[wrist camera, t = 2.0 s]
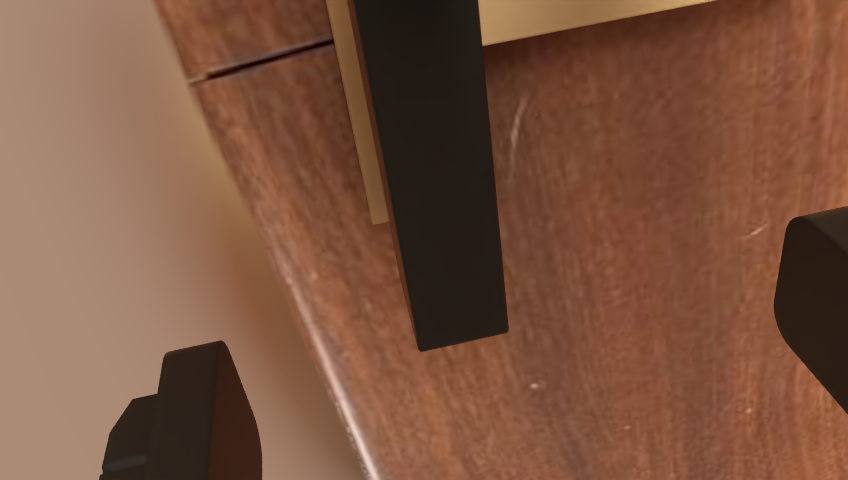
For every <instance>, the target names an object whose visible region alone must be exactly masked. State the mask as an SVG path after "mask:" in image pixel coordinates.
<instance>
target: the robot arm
mask: <svg viewBox="0 0 848 480" xmlns="http://www.w3.org/2000/svg"><path fill="white" fill-rule="evenodd" d="M774 313H775V318H776V322H777V325H778V328H779V330H780V333H781V335H782V337H783V338H784V340H785V341H786V343H787V344H788V345H789V347H790V348H791V349H792V350H793V351H794V352H795V354H796V355H797V356H798V357H799V358H800V359H801V361H802V362H803V363H804V364H805V365H806V366H807V368H808V369H809V370H810V371H811V372H812V373H813V375H814V376H815V377H816V378H817V379H818V380H819V381H820V383H821V384H822V385H823V386H824V387H825V388H826V390H827V391H828V392H829V393H830V394H831V395H832V397H833V398H834V399H835V400H836V401H837V402H838V404H839V405H840V406H841V407H842V408H843V409H844V411H845V412H846V413H847V414H848V207H841V208H836V209H832V210H827V211H823V212H818V213H813V214H809V215H804V216H800V217H796V218H793V219H792V220H791V221H790V222H789V224H788V226H787V228H786V232H785V238H784V244H783V250H782V256H781V262H780V268H779V274H778V280H777V286H776V292H775V298H774ZM102 470H103V474H102V475H100V478H99V480H262V452H261V443H260V437H259V432H258V428H257V424H256V420H255V417H254V415H253V412H252V409H251V407H250V404H249V401H248V399H247V396H246V393H245V391H244V388H243V386H242V383H241V380H240V378H239V375H238V373H237V370H236V367H235V365H234V362H233V360H232V357H231V355H230V352H229V350H228V347H227V346H226V344H225V343H224V342H223V341H216V342H212V343H207V344H203V345H198V346H193V347H189V348H184V349H179V350H175V351H170V352H168V353H166V354H165V356H164V358H163V363H162V369H161V375H160V381H159V387H158V393H157V394H154V395H149V396H145V397H140V398H136V399H133V400H132V401H131V402H130V404H129V405H128V407H127V408H126V410H125V411H124V413H123V414H122V415H121V417H120V419H119V420H118V421H117V423H116V425H115V426H114V427H113V429H112V431H111V432H110V434H109V438H108V443H107V447H106V452H105V456H104V460H103V465H102Z"/></svg>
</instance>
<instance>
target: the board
mask: <svg viewBox="0 0 848 480" xmlns="http://www.w3.org/2000/svg"><path fill="white" fill-rule="evenodd" d="M710 1H715V0H478V3H479V13H480V24H481V35H482V46H486V45H491V44H496V43H501V42H507V41H512V40H517V39H522V38H527V37H532V36H537V35H542V34H547V33H552V32H558V31H563V30H568V29H573V28H578V27H583V26H588V25H593V24H598V23H603V22H608V21H614V20H619V19H624V18H629V17H634V16H639V15H644V14H649V13H654V12H659V11H664V10H670V9H675V8H680V7H685V6H690V5H695V4H700V3H705V2H710Z"/></svg>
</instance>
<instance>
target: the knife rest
mask: <svg viewBox="0 0 848 480" xmlns="http://www.w3.org/2000/svg"><path fill="white" fill-rule="evenodd" d="M325 1H326V6H327V11H328V15H329V20H330V25H331V30H332V35H333V39H334V44H335V49H336V54H337V59H338V63H339V68H340V73H341V78H342V83H343V87H344V92H345V97H346V102H347V107H348V111H349V116H350V121H351V126H352V131H353V135H354V140H355V145H356V150H357V155H358V159H359V164H360V169H361V174H362V178H363V183H364V188H365V193H366V198H367V202H368V207H369V212H370V216H371V221H372V224H373V225H376V224H381V223H386V222H389V217H388V212H387V207H386V202H385V196H384V191H383V186H382V181H381V176H380V170H379V165H378V160H377V155H376V150H375V144H374V139H373V134H372V129H371V124H370V118H369V113H368V108H367V103H366V98H365V92H364V87H363V82H362V77H361V72H360V66H359V61H358V56H357V51H356V46H355V40H354V35H353V30H352V25H351V20H350V14H349V9H348V4H347V0H325Z"/></svg>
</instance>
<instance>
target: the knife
mask: <svg viewBox="0 0 848 480" xmlns="http://www.w3.org/2000/svg"><path fill="white" fill-rule="evenodd" d="M347 4H348V9H349V14H350V20H351V25H352V30H353V35H354V40H355V46H356V51H357V56H358V61H359V66H360V72H361V77H362V82H363V87H364V92H365V98H366V103H367V108H368V113H369V118H370V124H371V129H372V134H373V139H374V144H375V150H376V155H377V160H378V165H379V170H380V176H381V181H382V186H383V191H384V196H385V202H386V207H387V212H388V217H389V222H390V228H391V233H392V238H393V243H394V248H395V254H396V259H397V264H398V269H399V274H400V279H401V283H402V287H403V291H404V295H405V299H406V303H407V307H408V311H409V315H410V319H411V323H412V326H413V330H414V334H415V338H416V342H417V346H418V349H419V351H420V352H423V351H428V350H432V349H437V348H441V347H446V346H450V345H455V344H459V343H464V342H468V341H473V340H477V339H481V338H486V337H490V336H495V335H499V334H504V333H507V332H508V330H509V326H508V316H507V305H506V294H505V283H504V272H503V262H502V251H501V240H500V229H499V218H498V208H497V197H496V186H495V175H494V164H493V154H492V143H491V132H490V121H489V110H488V100H487V89H486V78H485V67H484V57H483V46H482V35H481V24H480V13H479V3H478V0H347Z"/></svg>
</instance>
